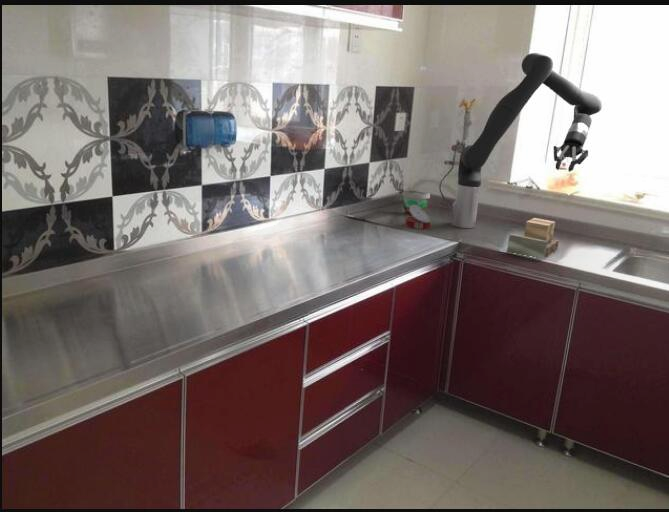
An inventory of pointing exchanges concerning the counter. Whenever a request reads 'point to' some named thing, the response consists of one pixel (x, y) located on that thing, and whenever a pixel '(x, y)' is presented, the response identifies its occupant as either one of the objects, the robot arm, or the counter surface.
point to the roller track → (531, 246)
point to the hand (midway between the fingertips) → (563, 169)
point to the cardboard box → (540, 229)
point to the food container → (414, 200)
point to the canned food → (418, 218)
